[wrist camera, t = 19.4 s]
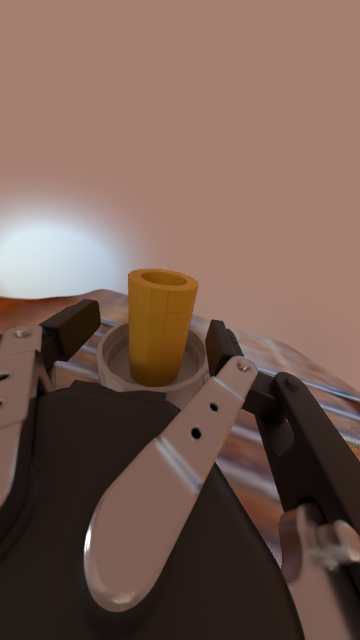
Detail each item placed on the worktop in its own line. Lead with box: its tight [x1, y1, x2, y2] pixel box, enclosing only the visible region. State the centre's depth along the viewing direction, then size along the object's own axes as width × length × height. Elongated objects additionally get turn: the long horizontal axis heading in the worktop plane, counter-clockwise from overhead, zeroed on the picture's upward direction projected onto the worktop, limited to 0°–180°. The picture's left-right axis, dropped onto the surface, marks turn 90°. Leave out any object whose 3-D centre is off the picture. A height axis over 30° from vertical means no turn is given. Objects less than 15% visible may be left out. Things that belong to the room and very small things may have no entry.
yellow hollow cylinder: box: [128, 269, 198, 387], centre depth 16 cm, size 6×6×11 cm
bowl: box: [97, 320, 208, 409], centre depth 18 cm, size 12×12×4 cm
